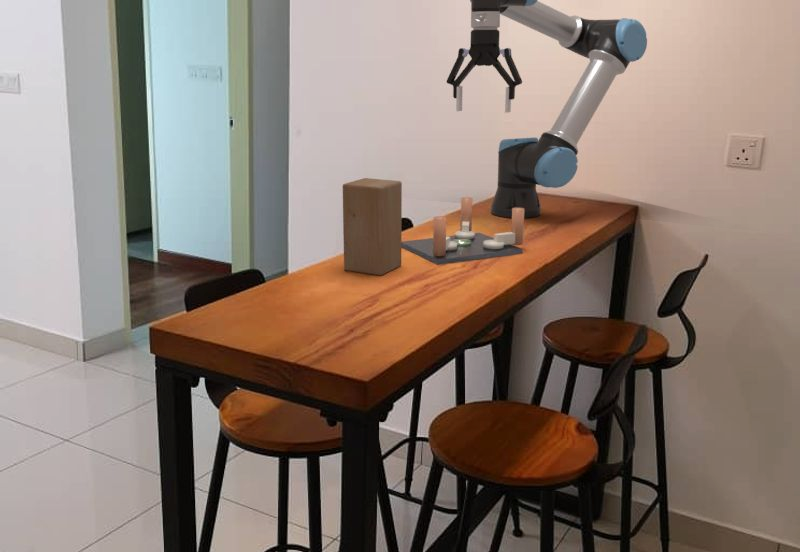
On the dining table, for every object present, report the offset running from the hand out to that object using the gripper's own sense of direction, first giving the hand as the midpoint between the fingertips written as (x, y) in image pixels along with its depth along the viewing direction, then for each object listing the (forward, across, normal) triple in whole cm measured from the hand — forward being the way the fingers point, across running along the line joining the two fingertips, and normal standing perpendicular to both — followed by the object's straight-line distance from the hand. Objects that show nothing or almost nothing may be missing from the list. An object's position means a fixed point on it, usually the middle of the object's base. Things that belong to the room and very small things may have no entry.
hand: (483, 111), depth 215 cm
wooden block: (+32, -11, -49) cm, 60 cm away
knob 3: (+31, +13, -22) cm, 40 cm away
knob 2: (+31, 0, -14) cm, 34 cm away
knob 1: (+31, +1, -33) cm, 45 cm away
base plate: (+32, +2, -25) cm, 41 cm away
